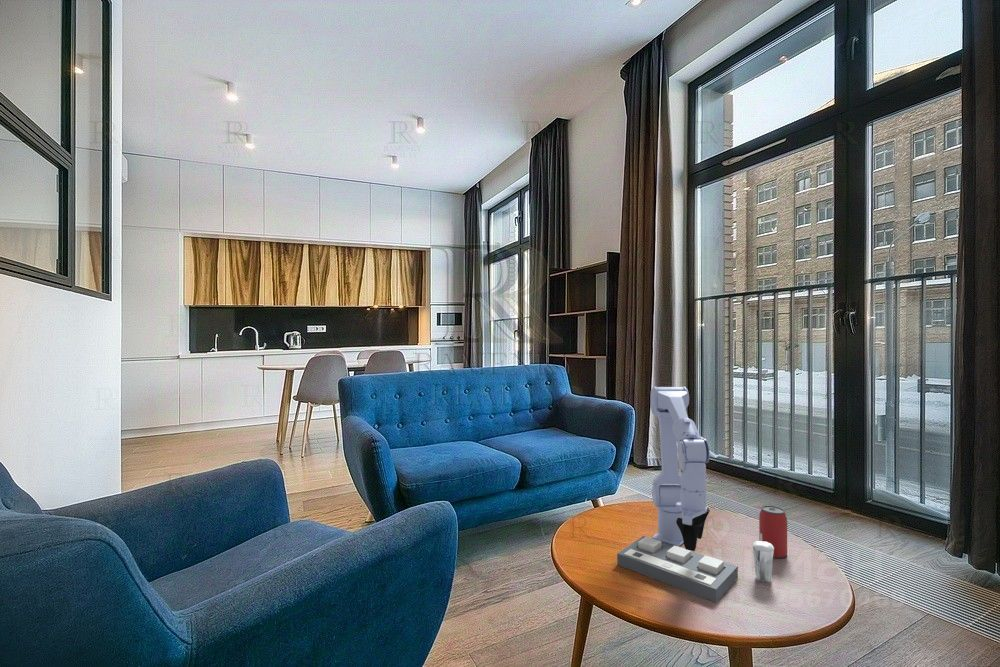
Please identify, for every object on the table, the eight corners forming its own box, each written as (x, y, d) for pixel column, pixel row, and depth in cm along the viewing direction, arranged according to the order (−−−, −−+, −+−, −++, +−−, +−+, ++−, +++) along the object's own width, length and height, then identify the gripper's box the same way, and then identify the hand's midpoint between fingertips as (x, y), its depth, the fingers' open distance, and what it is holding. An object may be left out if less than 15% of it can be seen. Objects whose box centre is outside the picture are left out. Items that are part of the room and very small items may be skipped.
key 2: (705, 567, 121) (705, 555, 121) (723, 573, 118) (723, 561, 118) (698, 573, 118) (698, 561, 118) (717, 580, 115) (716, 567, 115)
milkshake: (771, 574, 120) (771, 534, 120) (775, 585, 115) (775, 544, 114) (750, 571, 121) (750, 532, 121) (754, 582, 116) (754, 541, 116)
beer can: (782, 548, 133) (782, 505, 133) (791, 560, 127) (791, 514, 127) (756, 546, 135) (756, 503, 134) (763, 557, 128) (763, 512, 128)
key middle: (674, 556, 126) (674, 545, 126) (691, 562, 123) (691, 550, 123) (667, 562, 123) (666, 551, 123) (683, 568, 120) (683, 556, 120)
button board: (643, 546, 136) (643, 534, 136) (737, 578, 118) (737, 564, 118) (617, 564, 126) (617, 552, 126) (716, 602, 108) (716, 587, 108)
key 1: (646, 547, 132) (646, 536, 132) (661, 552, 129) (661, 541, 129) (638, 552, 129) (638, 541, 129) (653, 558, 126) (653, 546, 126)
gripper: (682, 477, 126) (683, 529, 126) (668, 494, 114) (669, 551, 114) (712, 482, 122) (712, 535, 122) (700, 499, 110) (701, 559, 110)
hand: (693, 543), depth 118 cm, fingers open, 7 cm apart
